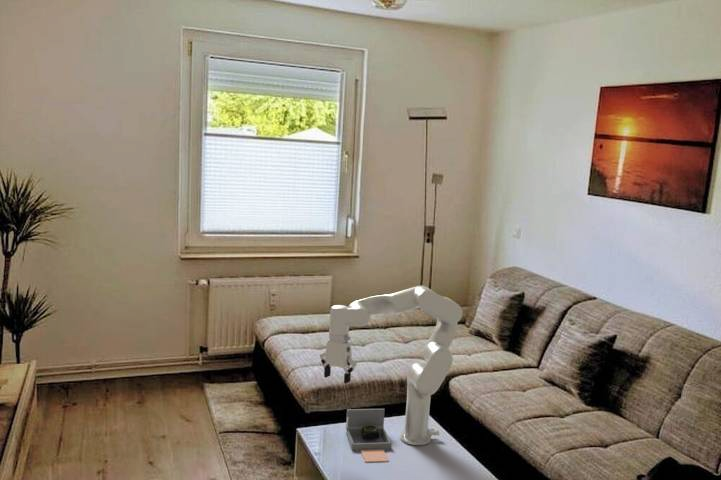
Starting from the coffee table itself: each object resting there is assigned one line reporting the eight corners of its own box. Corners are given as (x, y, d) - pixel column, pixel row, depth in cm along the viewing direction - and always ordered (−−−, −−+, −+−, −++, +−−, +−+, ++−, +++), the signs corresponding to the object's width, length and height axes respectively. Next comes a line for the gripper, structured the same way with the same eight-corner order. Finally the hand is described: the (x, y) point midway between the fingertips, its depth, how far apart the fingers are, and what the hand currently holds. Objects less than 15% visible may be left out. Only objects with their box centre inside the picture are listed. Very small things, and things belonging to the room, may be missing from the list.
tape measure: (362, 442, 243) (363, 433, 242) (360, 433, 249) (360, 425, 249) (379, 441, 244) (379, 432, 243) (376, 432, 250) (376, 424, 250)
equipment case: (382, 432, 253) (384, 408, 252) (391, 449, 239) (392, 423, 238) (345, 433, 250) (347, 409, 249) (352, 450, 236) (353, 424, 235)
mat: (383, 450, 238) (383, 449, 238) (388, 461, 229) (388, 460, 229) (360, 451, 236) (360, 450, 236) (365, 462, 227) (365, 461, 227)
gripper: (362, 339, 235) (360, 382, 237) (327, 330, 244) (325, 372, 247) (351, 343, 228) (349, 387, 231) (315, 334, 238) (313, 376, 240)
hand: (337, 379), depth 239 cm, fingers open, 9 cm apart
